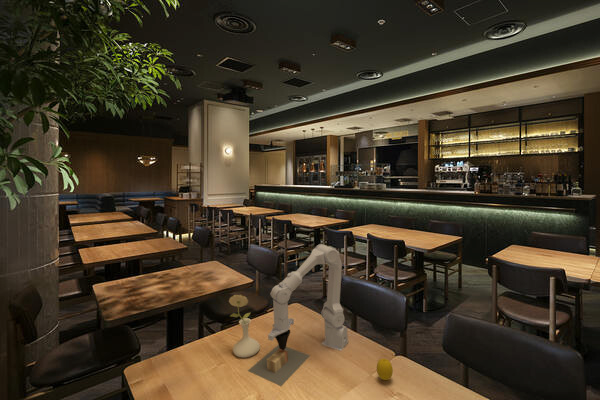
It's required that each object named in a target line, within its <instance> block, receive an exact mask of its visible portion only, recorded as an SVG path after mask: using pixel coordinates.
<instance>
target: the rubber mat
mask: <svg viewBox="0 0 600 400" xmlns="http://www.w3.org/2000/svg"><path fill="white" fill-rule="evenodd" d="M278 349H279V345H278V344H277V345H276V346H275V347H274V348H272V350H270V351H269V352H267V353H266V354H265V355H264V356H263V357H262V358H261V359H260V360H259V361H257V362H256V363H255V364H254V365H252V367H250V368H249V369H247V371H248V372H249V373H252V374H254V375H255V376H258V377H259V378H262V379H264V380H267V381H268V382H271V383H273V384H276V386H277V385H278V386H280V387H282V386H283V385H284V384H285V383H286V382H288V380H289V378H291V377H292V376H293V375H294V373H295V372H296V371H297V370H298V369H299V368H300V367H301V366H302V365H303V364H304V363H305V362H306V361H307V360H308V359H309V358H310V357H311V355H310V354H307V353H306V352H302V351H299V350H296V349H295V348H291V347H288V346H286V348H285V349H284V350H285V351H287V353H288V361H287V362H286V363H285V364H284V365H283V366H282V367H281V368H280V369H279V370H278V371H277V372H276V373H275V372H273V371H270V370H268V369H267V359H268V358H269V357H270V356H271V355H272V354H274V353H275V352H276V351H277V350H278Z"/></svg>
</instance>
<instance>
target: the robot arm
mask: <svg viewBox="0 0 600 400" xmlns="http://www.w3.org/2000/svg"><path fill="white" fill-rule="evenodd" d="M317 265H327V266H328V278H327V294H326V295H327V297H326V301H325V302H324V303H323V308H322V310H321V312H320V313H321V318H322V319H324V320H323V321H324V340H323V341H322V342H321V345H322V346H325V347H329V348H331V349H334V350H337V351H339V352H341V351H343V349H344V348H345V347H346V345H348V343H349V339H348V338H349V337H348V335H349V333H348V327H347V326H345V325H344V322H345V320H346V319H345V315H344V309H343V306H342V305H341V303H340V302H341V300H340V299H341V286H342V285H341V283H342V268H343V267H342V265H343V262H342V260H341V257H340V251H338V250H337V249H336V248H334V247H330V246H328V245H325V243H319V244H318V245H316V246H315V248H313V249H312V250H311V253H310V255H309V256H308V257H307V258H306V259H305V260H304V262H303V263H302V264H301V265H300V266H299V268H297V270H295V271H291V272H288V273H287V276H286V277H285V278H284V279H283V280H282V281H281V282H279V283H278V284H277V285H275V286H274V287H273V288H272V289H271V291H270V296H271V298H272V301H273V302H272V303H273V307H272V308H273V324H272V329H271V330H270V332H269V334H267V340H268V341H272V342H273V341H274V340H275V339H276V342H277V346H278V345H279V348H280V349H282V350H284V349H285V348H286V347H287V343H288V339H289V336H290V334H291V329H290V328H291V326H292V325H294V324H295V319H294V318H292V317H290V318H289V306H288V305H289V304H288V303H289V300H290V299H291V296H292V293H293V292H294V290H296V289H297V288H298V286H300V284H302V282H303V277H304V276H306V274H308V273H309V272H310V271H312V269H314V267H315V266H317Z"/></svg>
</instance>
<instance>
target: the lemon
mask: <svg viewBox="0 0 600 400" xmlns="http://www.w3.org/2000/svg"><path fill="white" fill-rule="evenodd" d="M376 364H377V365H376V372H377V376H378V377H379V378H380V379H381V380H383V381H389V380H390V379H391V378H392V376H393V372H394V371H393V365H392V363H391V361H390V360H388V359H387V358H380V359H378V361H377V363H376Z"/></svg>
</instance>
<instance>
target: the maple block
mask: <svg viewBox="0 0 600 400" xmlns="http://www.w3.org/2000/svg"><path fill="white" fill-rule="evenodd" d="M287 361H288V353H287V351H285V350H282V349H280V348H279V349H278V350H277V351H276V352H275V353H274V354H272V355H271V356H270V357H269V358H268V359H267V369H268V370H270V371H273V372H275V373H276V372H277V371H278V370H279V369H280V368H281V367H282V366H283V365H284V364H285V363H286V362H287Z"/></svg>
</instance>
